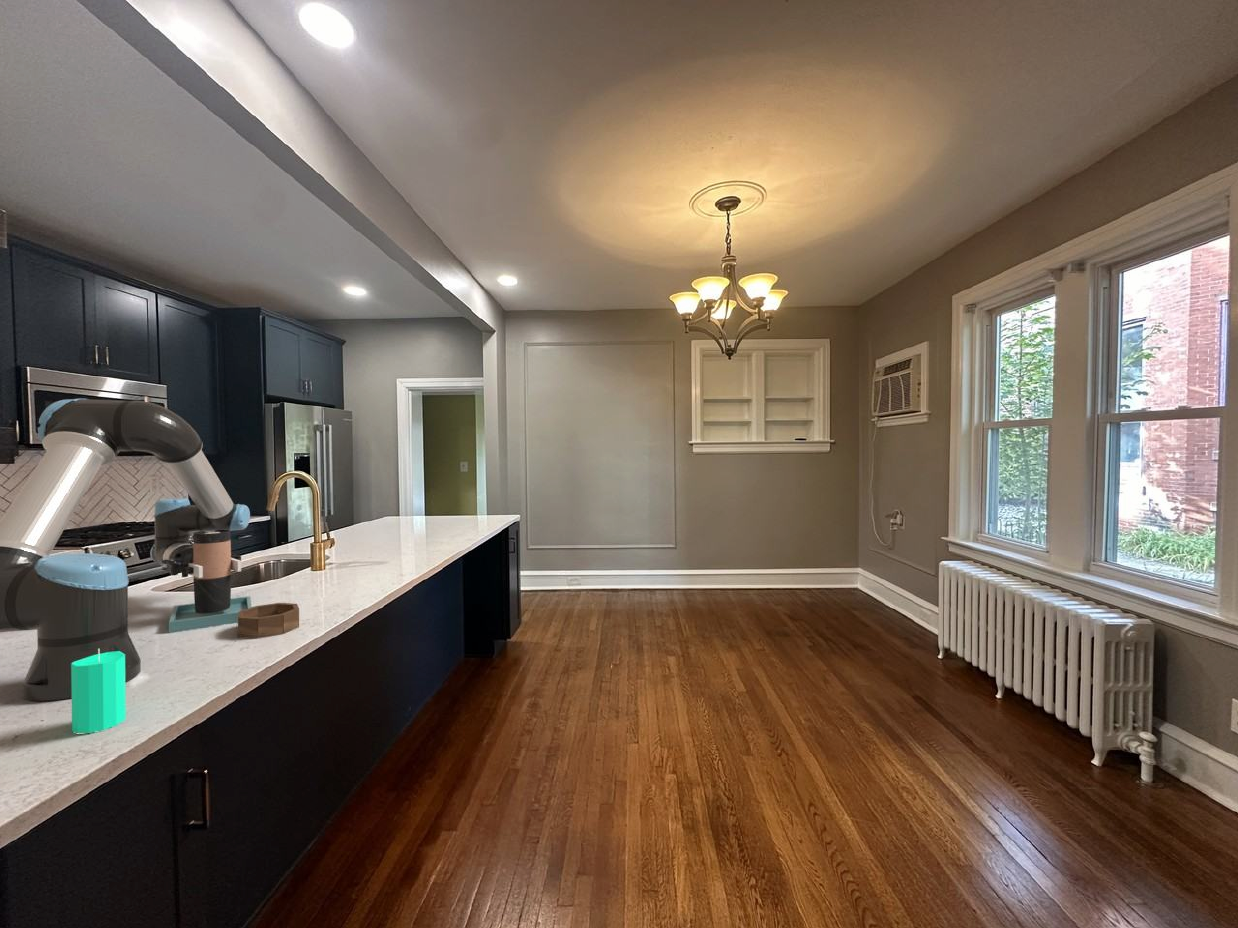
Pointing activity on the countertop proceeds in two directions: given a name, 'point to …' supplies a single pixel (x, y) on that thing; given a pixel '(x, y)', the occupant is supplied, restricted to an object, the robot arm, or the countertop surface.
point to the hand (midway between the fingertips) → (220, 569)
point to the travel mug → (212, 570)
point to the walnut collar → (268, 620)
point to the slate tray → (206, 615)
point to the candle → (98, 692)
